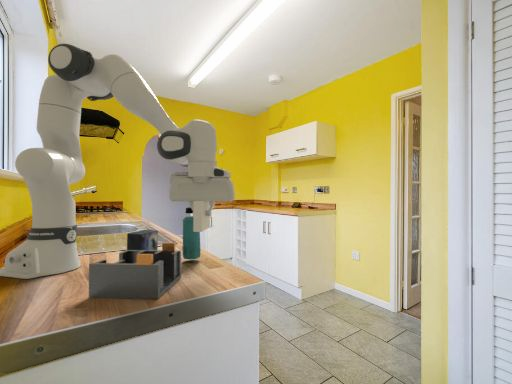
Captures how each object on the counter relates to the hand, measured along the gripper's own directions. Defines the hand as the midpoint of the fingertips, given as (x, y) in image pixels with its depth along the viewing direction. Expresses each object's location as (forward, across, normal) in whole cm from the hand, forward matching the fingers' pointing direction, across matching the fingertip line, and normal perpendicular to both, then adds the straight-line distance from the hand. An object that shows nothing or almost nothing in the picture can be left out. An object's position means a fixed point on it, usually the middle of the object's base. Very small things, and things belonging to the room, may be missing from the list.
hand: (202, 216), depth 77 cm
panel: (+4, 0, 0) cm, 4 cm away
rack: (+18, -14, -12) cm, 25 cm away
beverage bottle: (+18, -8, +13) cm, 24 cm away
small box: (+18, -28, +16) cm, 37 cm away
